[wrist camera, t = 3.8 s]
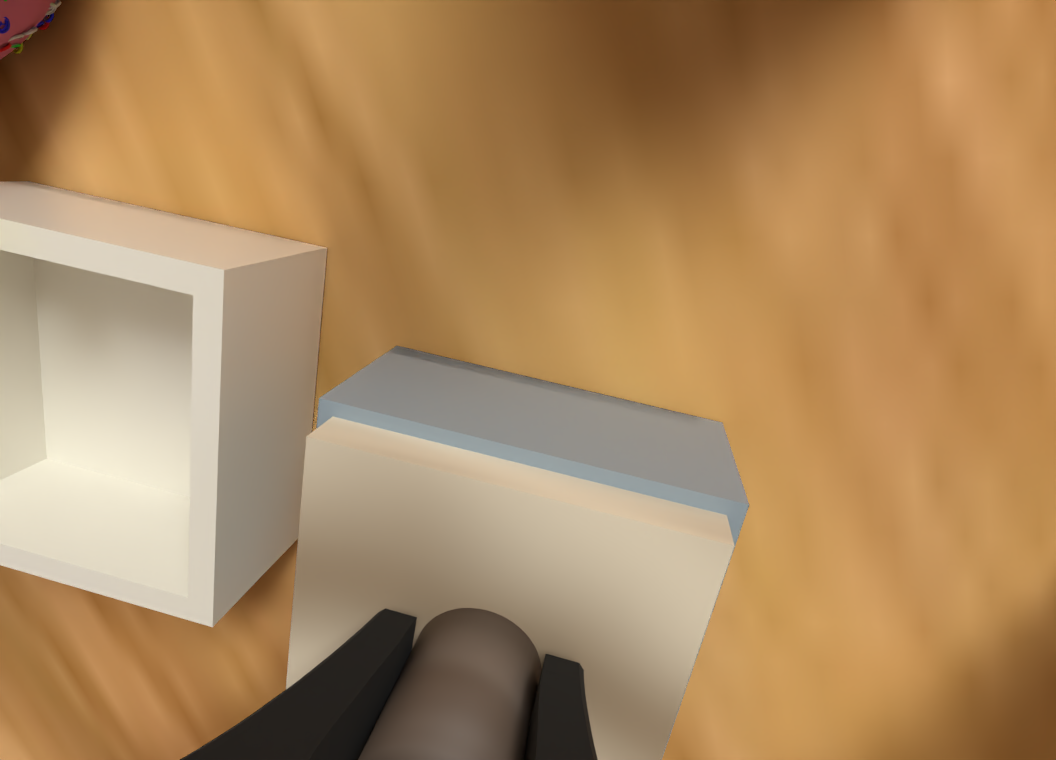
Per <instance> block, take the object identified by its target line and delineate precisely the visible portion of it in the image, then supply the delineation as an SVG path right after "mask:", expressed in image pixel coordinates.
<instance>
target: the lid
mask: <svg viewBox="0 0 1056 760" xmlns="http://www.w3.org/2000/svg"><path fill="white" fill-rule="evenodd" d="M733 549H734V542H733V538H732V534H731V530H730V526H729V522H728V518H727V515H724V514H720V513H716V512H712V511H708V510H704V509H700V508H696V507H692V506H688V505H684V504H680V503H676V502H672V501H668V500H664V499H660V498H656V497H652V496H648V495H644V494H640V493H636V492H632V491H628V490H624V489H620V488H616V487H612V486H608V485H604V484H600V483H596V482H592V481H588V480H584V479H580V478H576V477H572V476H568V475H564V474H560V473H556V472H552V471H548V470H544V469H540V468H536V467H532V466H528V465H524V464H520V463H516V462H512V461H509V460H505V459H501V458H497V457H493V456H489V455H485V454H481V453H477V452H473V451H469V450H465V449H461V448H457V447H453V446H449V445H445V444H441V443H437V442H433V441H429V440H425V439H421V438H417V437H413V436H409V435H405V434H401V433H397V432H393V431H389V430H385V429H381V428H377V427H373V426H369V425H365V424H361V423H357V422H353V421H349V420H345V419H341V418H337V417H331V418H330V419H329V420H327V421H326V422H325V423H324V424H322V425H321V426H320V427H318V428H317V429H316V430H314V431H313V432H312V433H310V434H309V435H308V436H306V448H305V460H304V473H303V485H302V497H301V509H300V522H299V534H298V546H297V558H296V571H295V583H294V595H293V607H292V620H291V632H290V644H289V656H288V669H287V681H286V689H288V688H289V687H290V686H292V685H293V684H294V683H296V682H297V681H298V680H300V679H301V678H302V677H303V676H305V675H306V674H307V673H308V672H310V671H311V670H312V669H313V668H315V667H316V666H317V665H318V664H320V663H321V662H322V661H323V660H325V659H326V658H327V657H328V656H330V655H331V654H332V653H333V652H334V651H335V650H337V649H338V648H339V647H340V646H341V645H343V644H344V643H345V642H346V641H347V640H348V639H349V638H351V637H352V636H353V635H354V634H355V633H356V632H357V631H359V630H360V629H361V628H362V627H363V626H364V625H365V624H366V623H367V622H368V621H370V620H371V619H372V618H373V617H374V616H375V615H376V614H377V613H378V612H380V611H381V610H383V609H385V608H386V609H389V610H393V611H396V612H400V613H404V614H407V615H411V616H414V617H417V620H416V626H415V633H414V639H413V645H412V651H411V653H410V655H409V657H408V659H407V661H406V663H405V665H404V667H403V669H402V671H401V673H400V675H399V677H398V679H397V681H396V683H395V685H394V688H393V690H392V692H391V694H390V696H389V698H388V700H387V702H386V704H385V706H384V708H383V710H382V712H381V714H380V716H379V718H378V720H377V722H376V724H375V726H374V728H373V730H372V732H371V734H370V736H369V738H368V740H367V742H366V744H365V746H364V749H363V751H362V753H361V755H360V757H359V759H358V760H524V756H525V750H526V743H527V736H528V730H529V725H530V720H531V716H532V711H533V706H534V701H535V696H536V692H537V687H538V683H539V679H540V675H541V671H542V666H543V662H544V658H545V654H549V655H553V656H556V657H560V658H564V659H567V660H571V661H574V662H578V663H580V665H581V666H582V668H583V670H584V685H585V695H586V702H587V709H588V715H589V721H590V726H591V732H592V737H593V741H594V746H595V750H596V755H597V759H598V760H661V759H662V756H663V753H664V750H665V747H666V744H667V741H668V738H669V735H670V732H671V729H672V727H673V724H674V721H675V718H676V715H677V712H678V709H679V706H680V703H681V700H682V697H683V694H684V692H685V689H686V686H687V683H688V680H689V677H690V674H691V671H692V668H693V665H694V662H695V660H696V657H697V654H698V651H699V648H700V645H701V642H702V639H703V636H704V633H705V630H706V628H707V625H708V622H709V619H710V616H711V613H712V610H713V607H714V604H715V601H716V598H717V595H718V593H719V590H720V587H721V584H722V581H723V578H724V575H725V572H726V569H727V566H728V563H729V561H730V558H731V555H732V552H733Z"/></svg>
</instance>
